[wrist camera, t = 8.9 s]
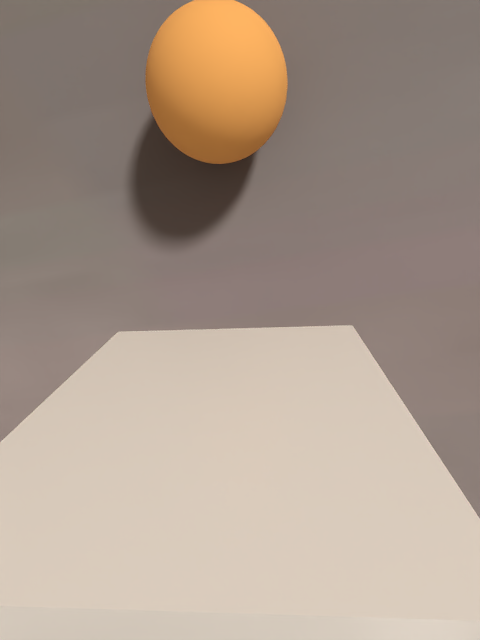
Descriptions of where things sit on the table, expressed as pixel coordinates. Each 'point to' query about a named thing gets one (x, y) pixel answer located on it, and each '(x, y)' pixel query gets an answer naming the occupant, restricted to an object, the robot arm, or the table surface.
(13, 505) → the cream colored box
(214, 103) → the ball
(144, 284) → the table surface
